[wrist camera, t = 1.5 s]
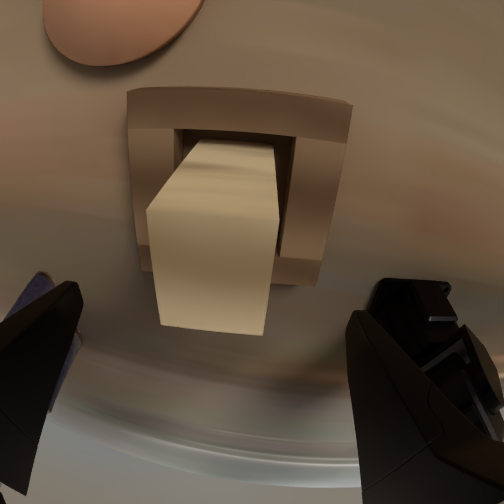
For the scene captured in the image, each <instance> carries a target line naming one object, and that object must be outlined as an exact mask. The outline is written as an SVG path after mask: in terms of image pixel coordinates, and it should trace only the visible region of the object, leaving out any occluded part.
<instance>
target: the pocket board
mask: <svg viewBox="0 0 504 504" xmlns="http://www.w3.org/2000/svg"><path fill="white" fill-rule="evenodd" d="M352 107H353V105H351V104H349V103H347V102H345V101H342V100H336V99H330V98H324V97H318V96H311V95H304V94H296V93H288V92H279V91H269V90H258V89H244V88H226V87H148V88H139V89H135V90H131V91H127V126H128V149H129V165H130V178H131V190H132V201H133V210H134V219H135V228H136V236H137V244H138V251H139V258H140V264H141V271H147V272H153V268H152V260H151V252H150V243H149V234H148V224H147V214H146V209H147V208H148V207H149V205H150V204H151V202H152V201H153V200H154V198H155V197H156V196H157V194H158V193H159V191H160V190H161V189H162V187H163V186H164V185H165V183H166V182H167V181H168V179H169V178H170V177H171V176H172V174H173V173H174V172H175V170H176V169H177V168H178V167H179V165H180V164H181V163H182V161H183V129H205V130H225V131H240V132H253V133H265V134H275V135H285V136H292V143H291V151H290V159H289V167H288V175H287V182H286V190H285V197H284V205H283V212H282V219H281V226H280V233H279V239H277V241H276V248H275V255H274V262H273V269H272V276H271V283H275V284H287V285H301V286H314V287H315V286H316V282H317V278H318V274H319V270H320V266H321V262H322V258H323V254H324V249H325V245H326V241H327V237H328V232H329V228H330V223H331V219H332V214H333V210H334V205H335V200H336V195H337V191H338V186H339V181H340V175H341V170H342V165H343V160H344V154H345V149H346V143H347V138H348V132H349V126H350V120H351V114H352Z"/></svg>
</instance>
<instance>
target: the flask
mask: <svg viewBox="0 0 504 504" xmlns="http://www.w3.org/2000/svg"><path fill="white" fill-rule="evenodd" d="M55 287H56V283H55V280H54V279H53V278H52V277H51V276H50V275H49V274H48V273H47V272H40V271H39V272H37V273H36V275H35V276H34V278H33V279H32V280H31V281H30V282H29V284H28V285H27V287H26V288H25V289H24V291H23V292H22V294H21V295H20V296H19V298H18V299H17V301H16V303H15V304H14V306H13V307H12V309H11V310H10V311H9V313H8V314H7V315H6V317H5V318H4V320H5V319H7V318H8V317H10V316H11V315H13V314H14V313H16V312H17V311H19V310H20V309H22V308H23V307H25V306H26V305H28V304H29V303H31V302H33V301H34V300H36V299H37V298H39V297H40V296H42V295H44V294H45V293H47V292H48V291H50V290H52V289H53V288H55ZM4 320H3V321H4ZM81 345H82V336H81V334H80V331H79V330H77V328H76V331H75V335H74V338H73V341H72V344H71V347H70V350H69V352H68V355H67V358H66V360H65V363H64V366H63V368H62V371H61V374H60V376H59V379H58V382H57V385H56V388H55V391H54V394H53V397H52V400H51V403H50V406H49V409H48V412H47V413H50V412H51V411H52V408H53V405H54V403H55V399H56V397H57V395H58V393H59V390H60V388H61V385H62V383H63V381H64V379H65V377H66V375H67V372H68V370H69V368H70V366H71V364H72V362H73V360H74V358H75V356H76V354H77V352H78V350H79V348H80V346H81Z"/></svg>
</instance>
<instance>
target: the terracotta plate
mask: <svg viewBox="0 0 504 504" xmlns="http://www.w3.org/2000/svg"><path fill="white" fill-rule="evenodd" d="M203 2H204V0H44V1H43V20H44V25H45V29H46V32H47V34H48V37H49V39H50V40H51V42H52V44H53V45H54V46H55V47H56V49H57V50H58V51H59V52H61V53H62V54H63V55H64V56H66V57H67V58H69V59H71V60H73V61H75V62H78V63H80V64H85V65H90V66H110V65H119V64H125V63H130V62H133V61H136V60H139V59H142V58H144V57H147V56H149V55H151V54H153V53H155V52H156V51H158V50H160V49H161V48H163V47H164V46H166V45H167V44H169V43H170V42H171V41H173V40H174V39H175V38H176V37H177V36H179V35H180V34H181V33H182V32H183V31H184V30H185V29H186V28H187V26H188V25H189V24H190V23H191V21H192V20H193V19H194V18H195V16H196V15H197V13H198V11H199V10H200V8H201V6H202V4H203Z"/></svg>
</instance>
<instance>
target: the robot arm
mask: <svg viewBox="0 0 504 504" xmlns="http://www.w3.org/2000/svg"><path fill="white" fill-rule="evenodd" d="M387 284H388V285H387ZM385 285H387V286H385ZM450 291H451V285H450V284H449V283H448V282H442V281H431V280H416V279H396V278H385V279H383V280H382V281H381V282H380V284H379V287H378V289H377V292H376V294H375V297H374V299H373V302H372V304H371V306H370V309H369V311H368V312H367V311H364V310H355V311H353V312H352V315H351V317H350V320H349V322H348V325H347V327H346V332H345V337H346V355H347V375H348V383H349V389H350V396H351V403H352V410H353V417H354V424H355V432H356V440H357V448H358V457H359V466H360V476H361V487H362V500H363V504H504V442H503V441H504V420H503V418H502V416H501V413H500V411H499V410H500V409H502V408H503V407H504V398H503V393H502V388H501V384H500V380H499V376H498V372H497V369H496V367H495V365H494V363H493V361H492V359H491V357H490V356H489V354H488V352H487V350H486V348H485V347H484V345H483V344H482V343H481V342H480V341H479V340H478V338H477V337H476V336H475V335H474V334H473V333H472V332H471V330H470V329H469V328H468V327H467V326H466V325H465V324H464V325H463V326H461V327H460V328H459V327H458V325H457V323H456V322H457V320H458V318H457V315H456V313H455V311H454V310H453V308H452V306H451V304H450V303H449V301H448V299H447V297H448V295H449V293H450ZM82 309H83V298H82V295H81V292H80V289H79V286H78V284H77V282H73V281H65V282H63V283H61V284H60V285H58V286H56V287H55V288H53V289H52V290H50V291H48V292H47V293H45V294H44V295H42V296H40V297H39V298H37V299H36V300H34V301H33V302H31V303H29V304H28V305H26V306H25V307H23V308H22V309H20V310H19V311H17V312H16V313H14V314H13V315H11V316H10V317H8V318H7V319H5V320H4V321H2V322H1V323H0V487H1V484H2V483H3V484H5V485H7V486H8V487H10V488H12V489H14V490H16V491H17V492H19V493H21V494H23V495H25V496H26V494H27V491H28V486H29V481H30V476H31V472H32V467H33V463H34V459H35V455H36V451H37V447H38V446H37V445H38V443H39V439H40V436H41V432H42V429H43V425H44V422H45V419H46V415H47V412H48V409H49V406H50V403H51V400H52V397H53V394H54V391H55V388H56V385H57V382H58V379H59V376H60V374H61V371H62V368H63V366H64V363H65V360H66V358H67V355H68V352H69V350H70V347H71V344H72V341H73V338H74V335H75V331H76V328H77V325H78V321H79V318H80V315H81V312H82ZM0 504H6V503H5V500H4V498H3V495H2V493H1V492H0Z"/></svg>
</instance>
